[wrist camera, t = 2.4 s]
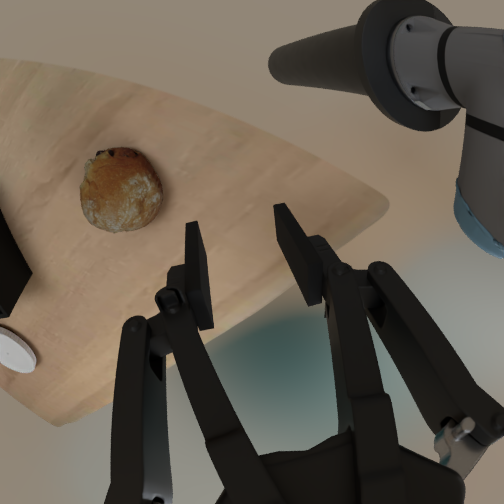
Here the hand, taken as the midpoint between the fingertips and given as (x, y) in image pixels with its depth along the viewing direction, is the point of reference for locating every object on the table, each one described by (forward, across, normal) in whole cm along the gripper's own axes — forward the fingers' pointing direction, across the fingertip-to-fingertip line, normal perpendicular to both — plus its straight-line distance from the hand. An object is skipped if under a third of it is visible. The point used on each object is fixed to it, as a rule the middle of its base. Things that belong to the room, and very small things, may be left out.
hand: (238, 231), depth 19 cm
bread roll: (+17, -12, 0) cm, 21 cm away
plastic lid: (+17, -52, -24) cm, 60 cm away
